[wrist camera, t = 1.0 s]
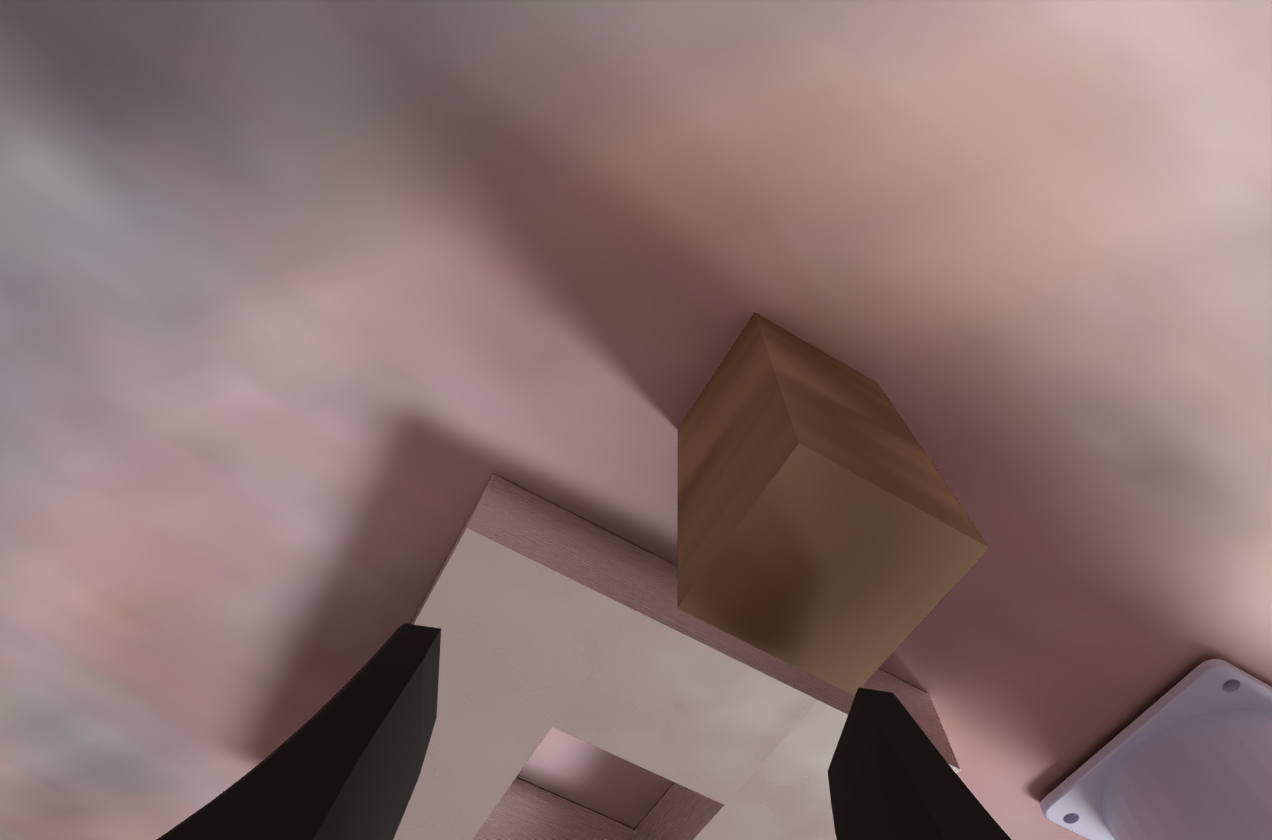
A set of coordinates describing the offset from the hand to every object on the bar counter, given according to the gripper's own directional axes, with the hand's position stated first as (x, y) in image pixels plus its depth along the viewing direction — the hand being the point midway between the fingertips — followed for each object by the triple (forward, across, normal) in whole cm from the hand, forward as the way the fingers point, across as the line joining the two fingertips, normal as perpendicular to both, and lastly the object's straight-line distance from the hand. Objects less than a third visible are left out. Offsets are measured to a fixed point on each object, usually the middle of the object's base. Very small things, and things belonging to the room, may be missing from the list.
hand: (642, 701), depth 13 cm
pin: (+10, -3, -2) cm, 10 cm away
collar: (+10, 0, +12) cm, 15 cm away
